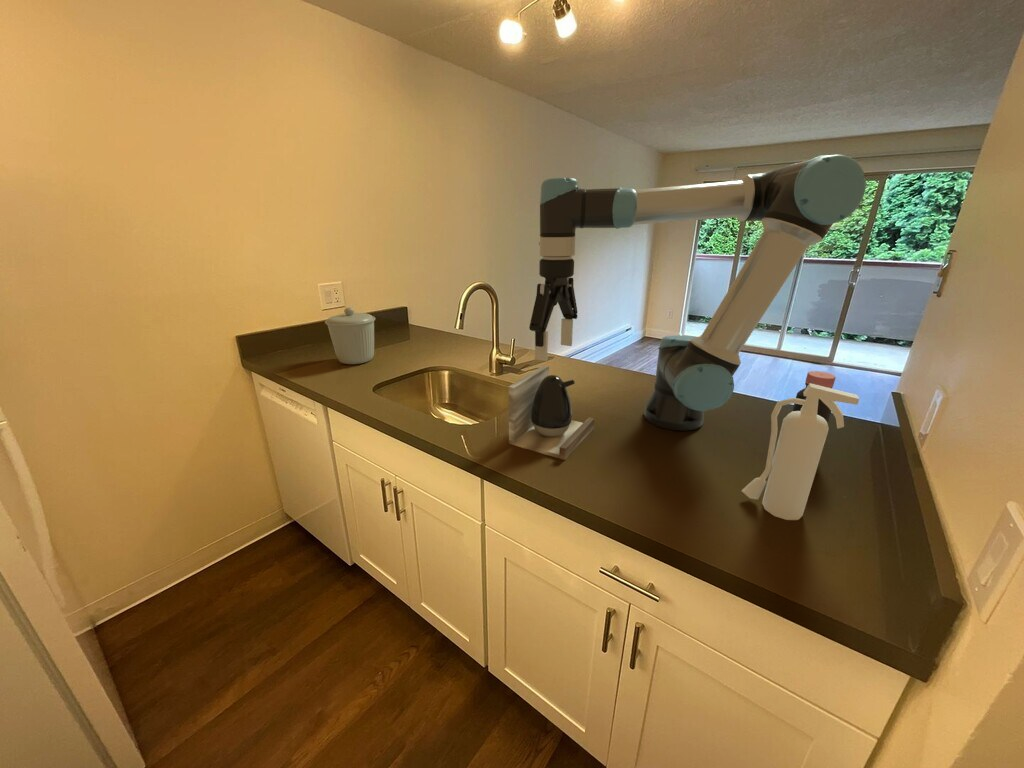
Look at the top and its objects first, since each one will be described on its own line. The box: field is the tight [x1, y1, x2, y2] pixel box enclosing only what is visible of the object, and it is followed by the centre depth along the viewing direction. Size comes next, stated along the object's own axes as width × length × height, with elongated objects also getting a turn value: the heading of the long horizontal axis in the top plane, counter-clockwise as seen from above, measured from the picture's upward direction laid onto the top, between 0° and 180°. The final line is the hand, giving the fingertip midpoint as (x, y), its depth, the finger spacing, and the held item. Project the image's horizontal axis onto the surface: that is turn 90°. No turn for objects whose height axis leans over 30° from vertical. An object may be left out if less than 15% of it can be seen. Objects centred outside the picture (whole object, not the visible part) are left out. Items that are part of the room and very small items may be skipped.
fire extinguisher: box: [741, 383, 860, 521], centre depth 74 cm, size 7×12×25 cm, turn 57°
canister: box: [324, 306, 376, 365], centre depth 161 cm, size 18×18×21 cm
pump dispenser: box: [531, 374, 576, 437], centre depth 103 cm, size 10×10×15 cm
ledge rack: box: [507, 365, 595, 461], centre depth 103 cm, size 15×18×15 cm
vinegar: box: [791, 370, 836, 425], centre depth 92 cm, size 7×7×20 cm
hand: (554, 352), depth 98 cm, fingers open, 13 cm apart
